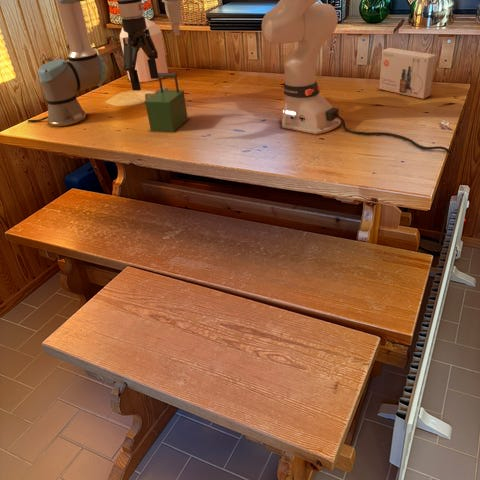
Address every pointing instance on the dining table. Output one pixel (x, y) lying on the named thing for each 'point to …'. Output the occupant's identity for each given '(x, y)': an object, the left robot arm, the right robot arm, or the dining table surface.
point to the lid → (165, 92)
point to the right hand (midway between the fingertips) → (175, 32)
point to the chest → (167, 115)
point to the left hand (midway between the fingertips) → (146, 84)
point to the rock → (149, 95)
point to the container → (142, 57)
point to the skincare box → (407, 72)
